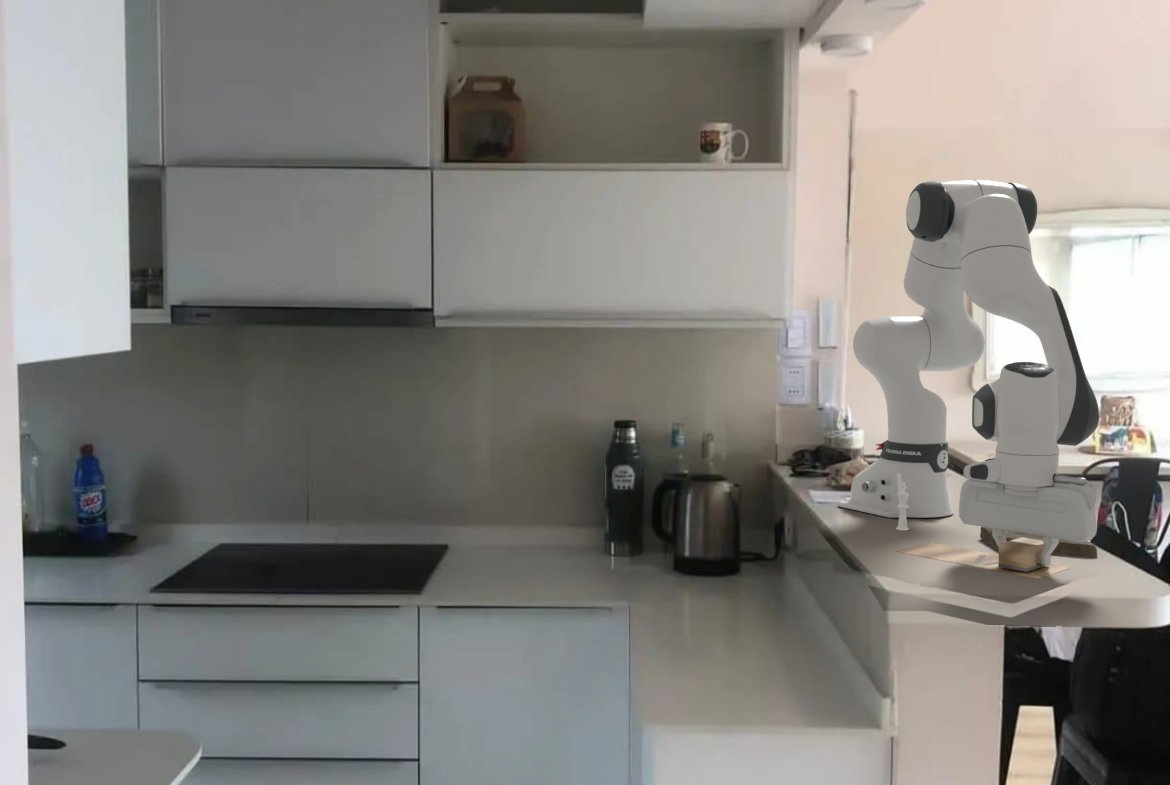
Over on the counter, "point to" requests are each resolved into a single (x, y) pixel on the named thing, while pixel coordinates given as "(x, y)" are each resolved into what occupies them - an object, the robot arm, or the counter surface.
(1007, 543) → the block
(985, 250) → the robot arm
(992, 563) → the board
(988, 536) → the marble piece
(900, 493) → the chess piece
